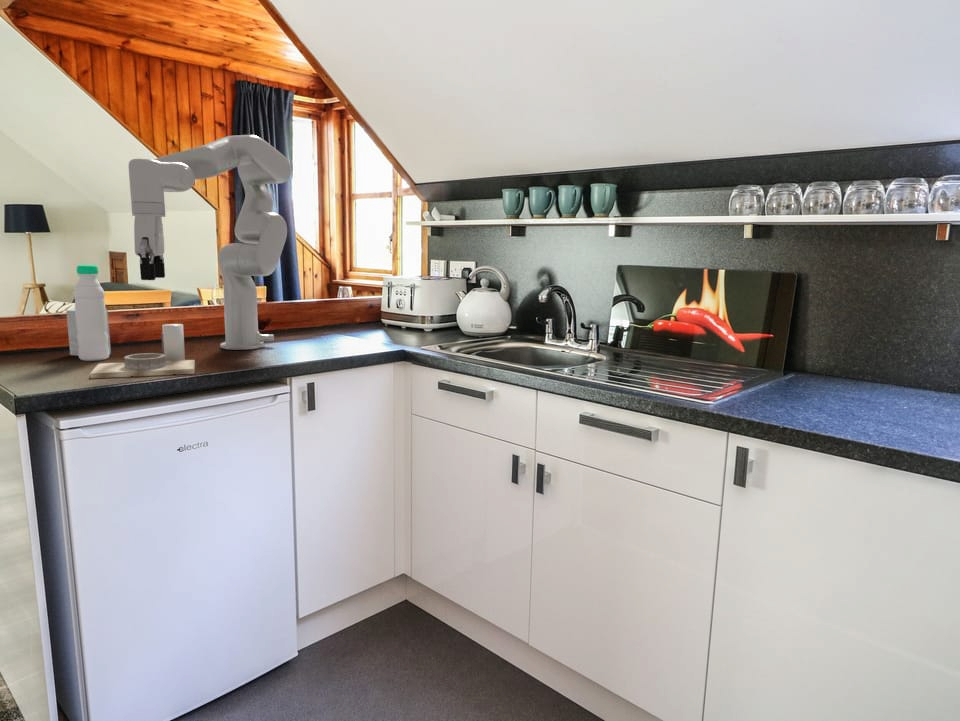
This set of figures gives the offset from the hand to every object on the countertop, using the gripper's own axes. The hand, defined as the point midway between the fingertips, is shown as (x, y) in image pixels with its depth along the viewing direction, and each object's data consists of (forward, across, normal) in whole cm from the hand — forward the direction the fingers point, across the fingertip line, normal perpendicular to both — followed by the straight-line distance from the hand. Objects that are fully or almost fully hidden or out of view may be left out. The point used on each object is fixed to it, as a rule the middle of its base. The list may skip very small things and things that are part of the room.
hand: (153, 278), depth 165 cm
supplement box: (+22, -16, -21) cm, 35 cm away
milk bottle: (+22, -8, -18) cm, 30 cm away
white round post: (+22, -2, +3) cm, 23 cm away
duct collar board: (+22, +10, -1) cm, 24 cm away
